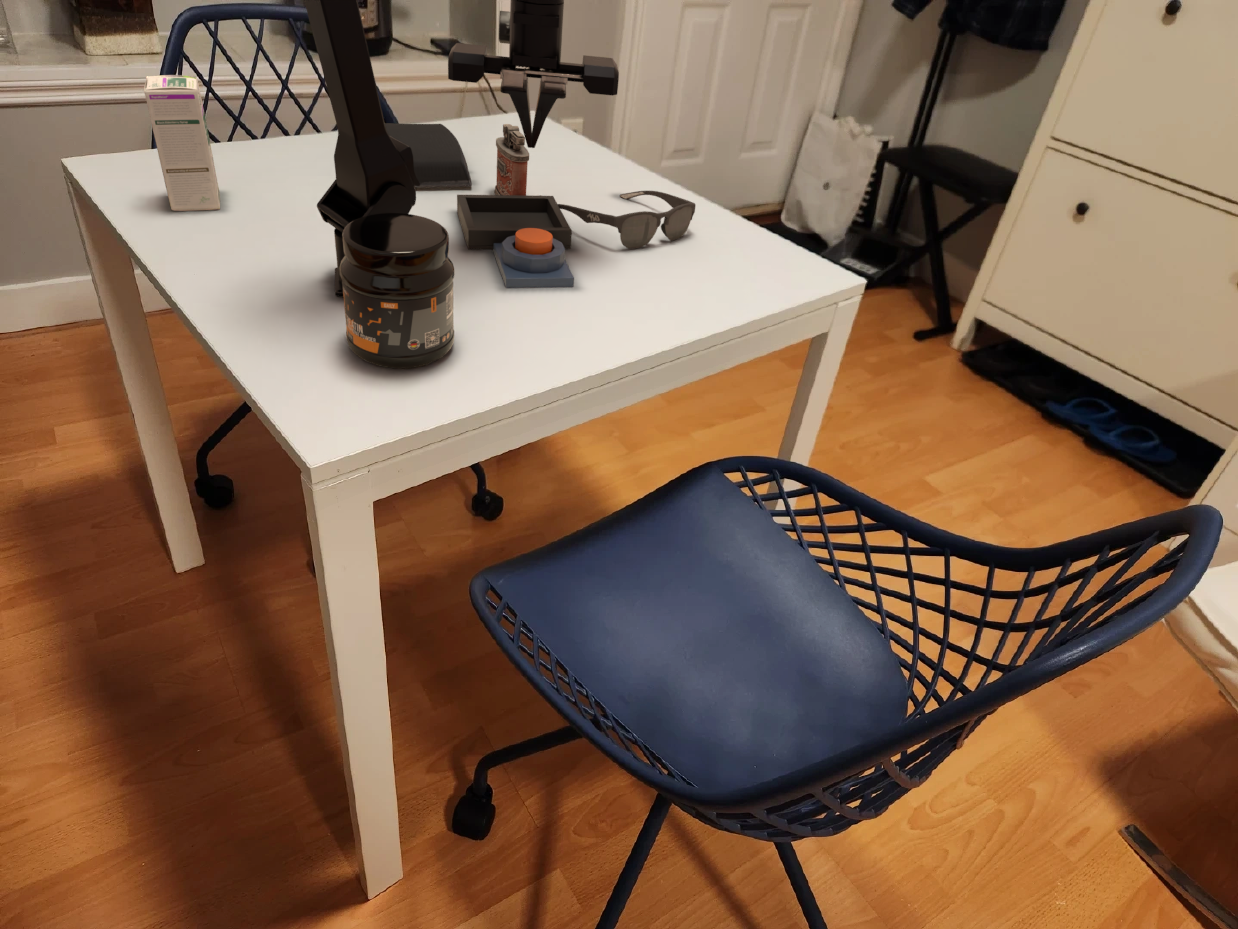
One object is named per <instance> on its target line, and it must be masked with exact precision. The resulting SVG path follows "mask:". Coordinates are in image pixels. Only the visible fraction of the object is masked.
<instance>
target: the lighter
mask: <svg viewBox="0 0 1238 929" xmlns="http://www.w3.org/2000/svg"><path fill="white" fill-rule="evenodd" d="M502 134H503V136H500V137H497V138H496V139H495V146H496V149H497V150H496V151H497V152H496V183H495V184H496V185H495V186H494V195H527V184H528V162H529V161H530V152H529V150H528V149H527V147H525V145H526V144H525V143H526V139H525V136H524V133H522V132H521V131H520V127H519V126H518V125H512V124H510V123H503V124H502Z"/></svg>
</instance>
